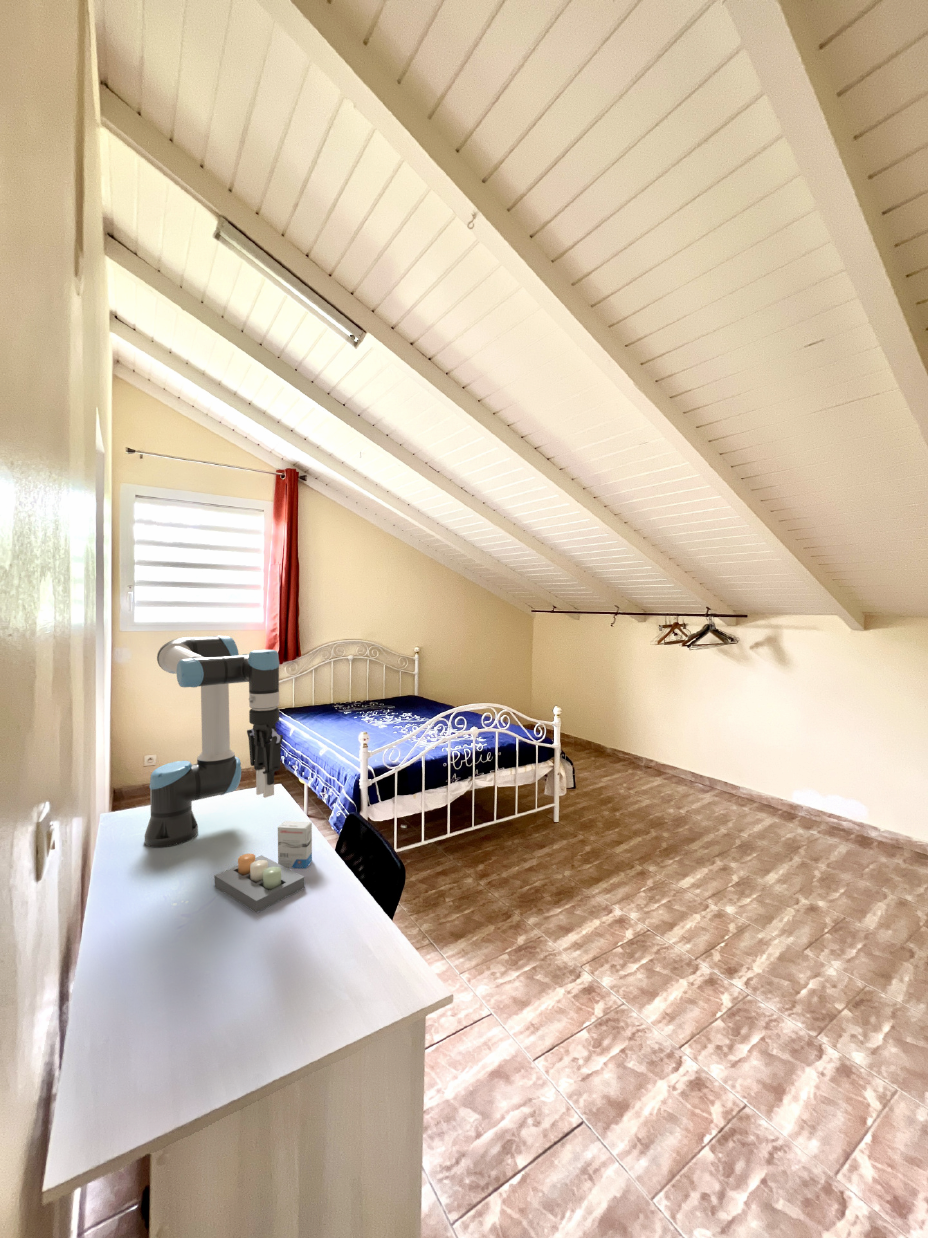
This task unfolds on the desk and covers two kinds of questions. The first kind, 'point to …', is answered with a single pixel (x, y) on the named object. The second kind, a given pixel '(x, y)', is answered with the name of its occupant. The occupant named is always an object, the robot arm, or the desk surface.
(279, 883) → the green button
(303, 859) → the ink box
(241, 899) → the panel
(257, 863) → the cream button
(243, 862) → the orange button
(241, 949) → the desk surface
